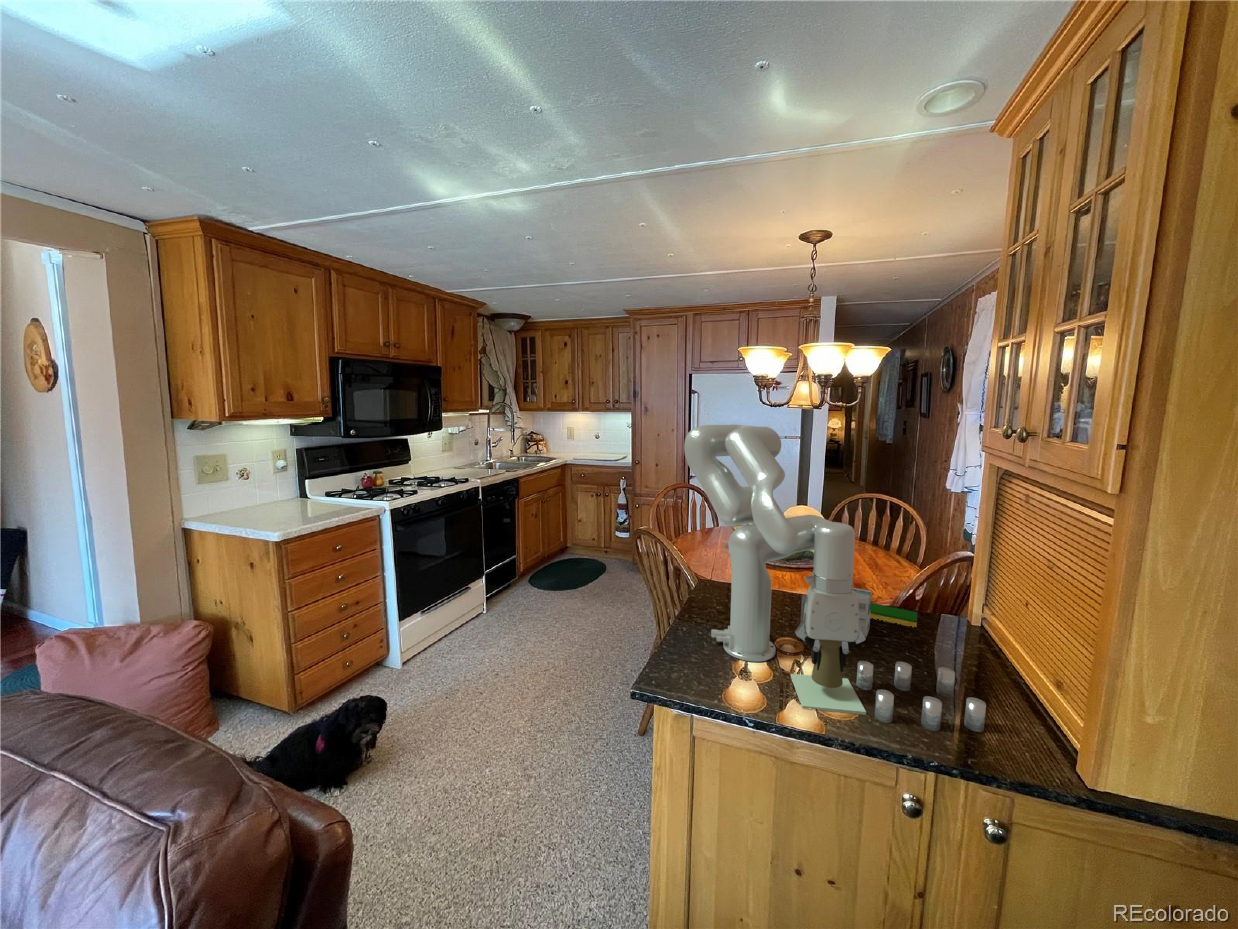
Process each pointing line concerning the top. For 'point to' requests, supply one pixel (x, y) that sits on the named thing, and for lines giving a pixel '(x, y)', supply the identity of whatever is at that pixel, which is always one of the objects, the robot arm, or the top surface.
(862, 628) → the light bulb box
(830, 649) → the olive rounded piece
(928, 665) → the top surface
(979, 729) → the spacer field
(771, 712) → the top surface
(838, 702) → the mat
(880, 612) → the dish sponge
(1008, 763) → the top surface
